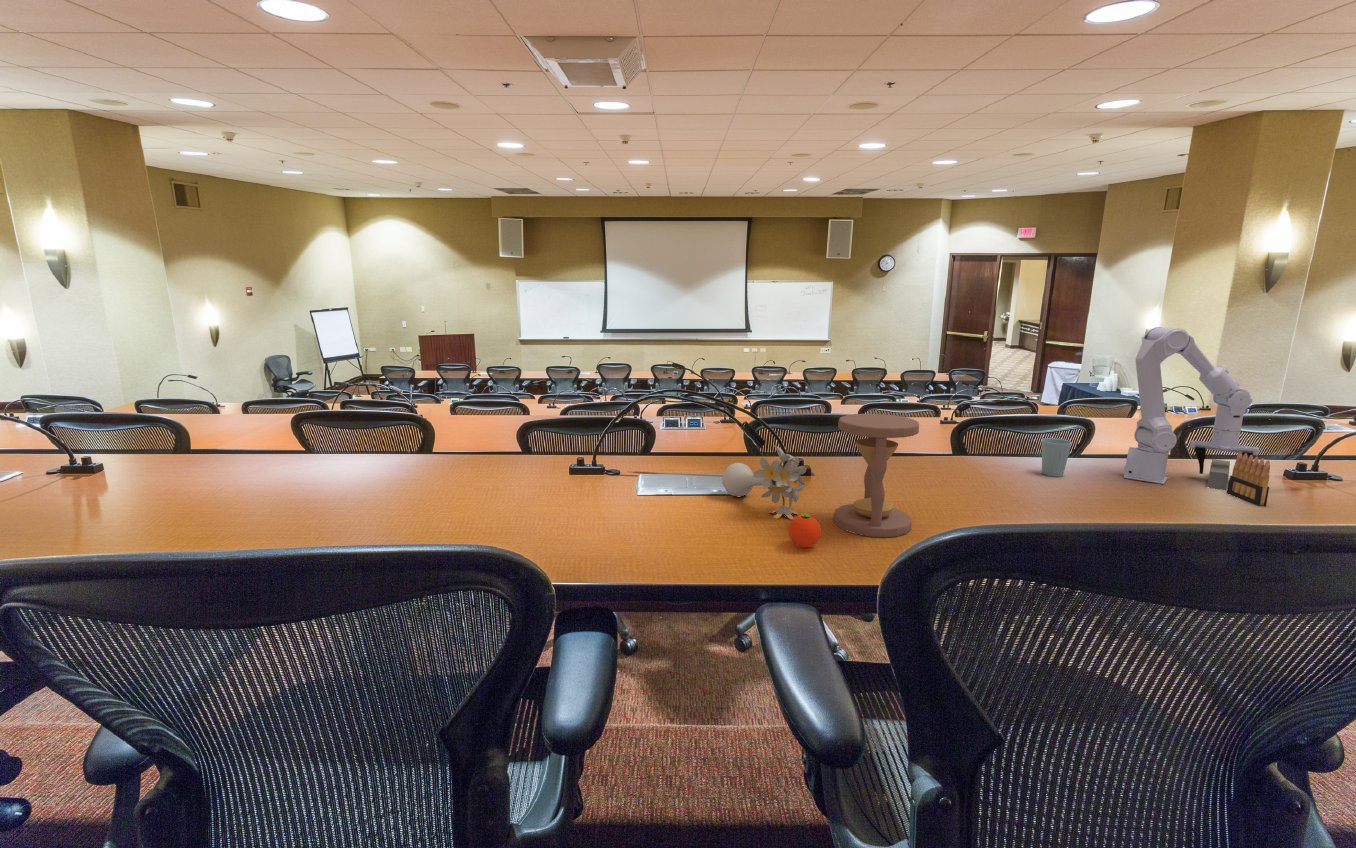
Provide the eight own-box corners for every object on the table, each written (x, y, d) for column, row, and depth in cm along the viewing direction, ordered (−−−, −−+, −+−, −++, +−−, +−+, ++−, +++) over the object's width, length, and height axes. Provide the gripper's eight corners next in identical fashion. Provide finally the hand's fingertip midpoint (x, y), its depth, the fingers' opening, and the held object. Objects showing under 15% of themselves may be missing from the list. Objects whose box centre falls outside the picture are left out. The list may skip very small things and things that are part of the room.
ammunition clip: (1266, 506, 153) (1275, 460, 151) (1258, 506, 153) (1267, 460, 151) (1233, 493, 163) (1241, 450, 161) (1226, 493, 164) (1234, 450, 161)
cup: (1056, 470, 186) (1060, 437, 184) (1073, 477, 178) (1077, 443, 176) (1032, 471, 186) (1036, 438, 183) (1048, 478, 178) (1052, 444, 176)
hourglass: (839, 507, 153) (844, 411, 148) (912, 516, 147) (920, 416, 142) (828, 531, 137) (833, 424, 132) (909, 542, 131) (918, 430, 126)
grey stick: (1206, 488, 169) (1209, 471, 168) (1209, 474, 182) (1212, 458, 181) (1225, 491, 166) (1229, 473, 165) (1227, 477, 179) (1230, 461, 178)
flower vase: (724, 522, 162) (787, 527, 141) (704, 457, 161) (764, 453, 139) (759, 504, 169) (824, 506, 148) (740, 442, 167) (803, 435, 146)
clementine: (790, 537, 134) (791, 506, 133) (821, 540, 132) (823, 509, 131) (785, 550, 127) (787, 519, 125) (819, 554, 125) (820, 522, 123)
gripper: (1193, 428, 172) (1186, 474, 175) (1263, 435, 163) (1254, 483, 166) (1193, 424, 178) (1185, 468, 180) (1260, 430, 169) (1251, 477, 171)
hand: (1218, 475), depth 173 cm, fingers open, 7 cm apart
